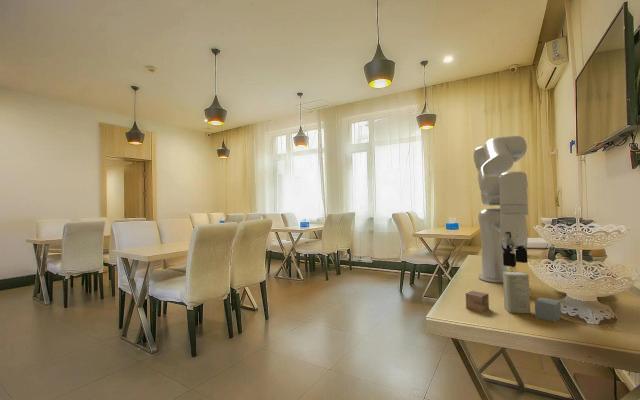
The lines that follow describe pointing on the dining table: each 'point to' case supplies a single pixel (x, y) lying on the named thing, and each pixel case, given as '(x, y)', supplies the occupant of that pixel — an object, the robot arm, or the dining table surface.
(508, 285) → the skincare box
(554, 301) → the slate block
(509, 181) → the robot arm
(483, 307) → the walnut block
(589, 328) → the dining table surface
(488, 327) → the dining table surface
